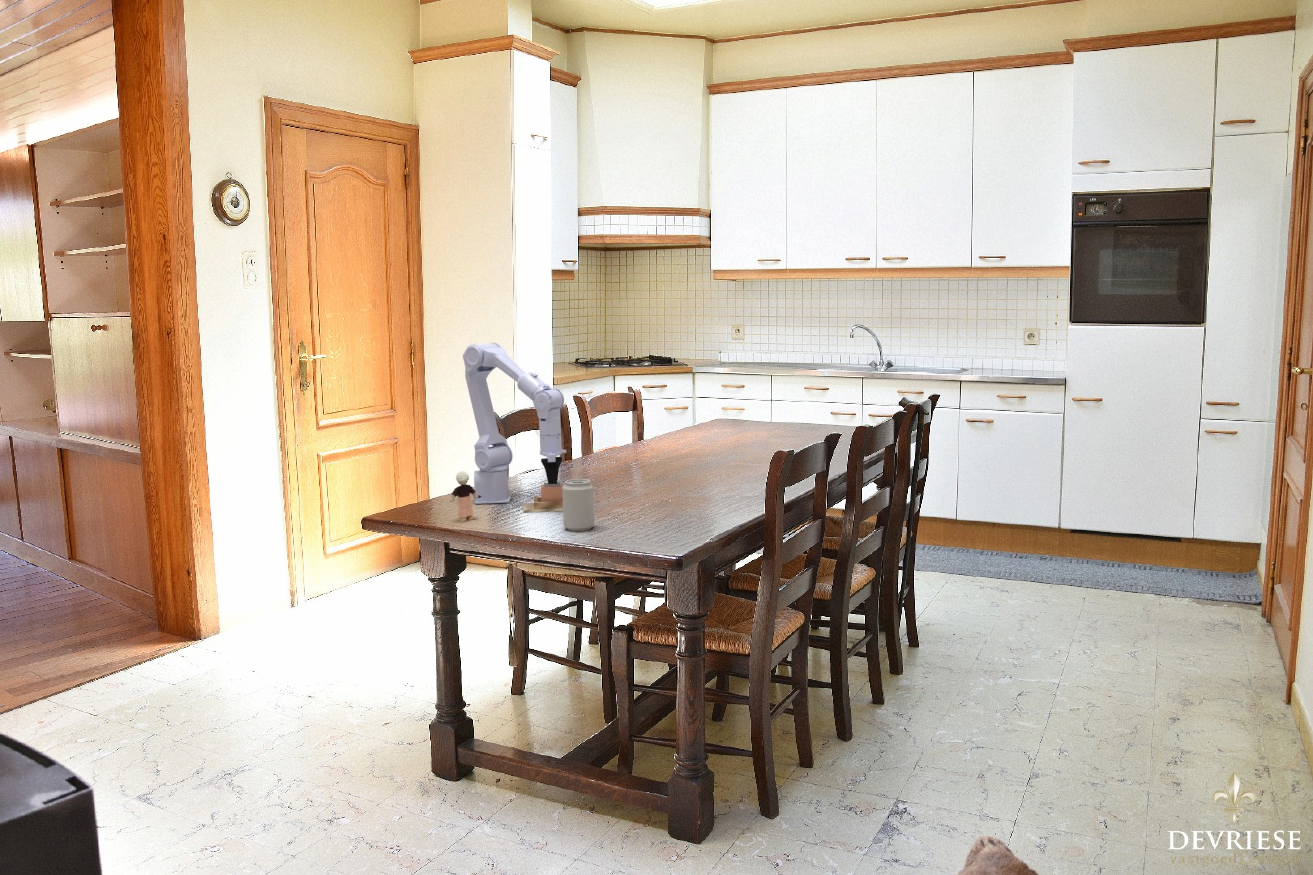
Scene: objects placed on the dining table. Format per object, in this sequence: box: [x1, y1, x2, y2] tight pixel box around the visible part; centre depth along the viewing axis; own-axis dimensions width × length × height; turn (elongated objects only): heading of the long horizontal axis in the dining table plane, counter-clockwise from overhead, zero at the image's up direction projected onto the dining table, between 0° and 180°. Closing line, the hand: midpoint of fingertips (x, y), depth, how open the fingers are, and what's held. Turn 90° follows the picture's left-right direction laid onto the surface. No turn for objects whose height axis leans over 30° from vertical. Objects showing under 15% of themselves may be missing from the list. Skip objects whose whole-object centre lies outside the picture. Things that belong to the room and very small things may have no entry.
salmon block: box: [540, 481, 564, 502], centre depth 276 cm, size 6×4×6 cm, turn 96°
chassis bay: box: [522, 496, 563, 514], centre depth 276 cm, size 16×9×2 cm, turn 96°
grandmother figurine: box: [449, 471, 478, 522], centre depth 263 cm, size 8×4×13 cm, turn 141°
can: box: [562, 478, 595, 532], centre depth 251 cm, size 8×8×12 cm
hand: (552, 484), depth 276 cm, fingers closed, pressing on salmon block
